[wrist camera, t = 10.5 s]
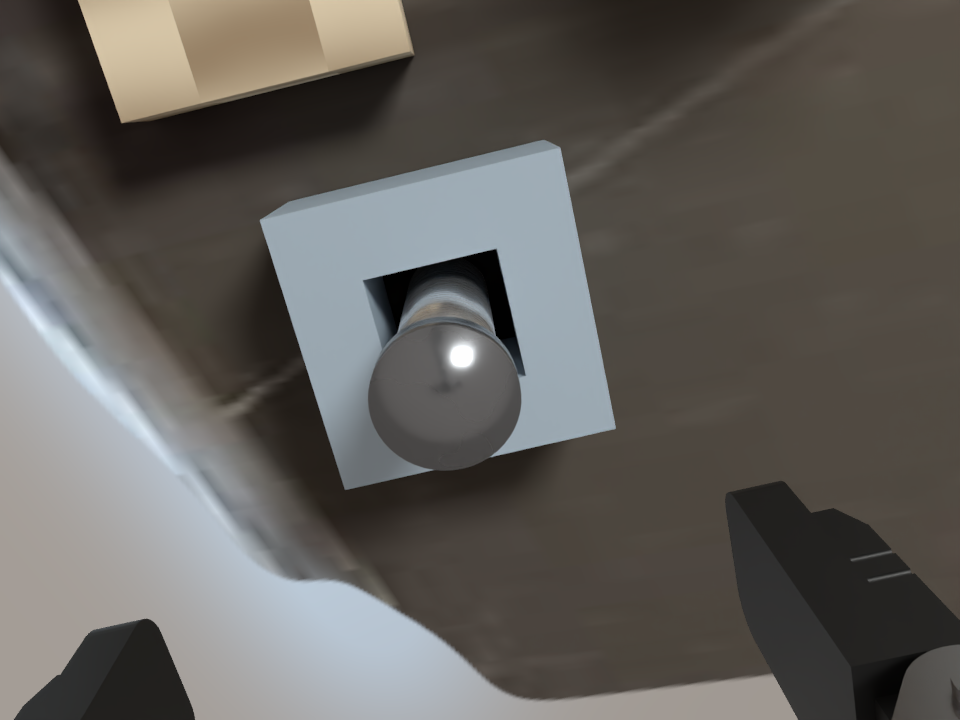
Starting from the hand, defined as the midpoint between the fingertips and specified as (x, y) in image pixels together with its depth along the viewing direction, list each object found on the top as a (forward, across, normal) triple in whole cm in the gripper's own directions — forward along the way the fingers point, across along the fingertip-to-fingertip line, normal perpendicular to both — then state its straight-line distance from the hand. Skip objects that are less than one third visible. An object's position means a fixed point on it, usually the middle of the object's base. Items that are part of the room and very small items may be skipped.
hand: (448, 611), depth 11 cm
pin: (+22, 0, +1) cm, 22 cm away
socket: (+22, 0, +1) cm, 22 cm away
